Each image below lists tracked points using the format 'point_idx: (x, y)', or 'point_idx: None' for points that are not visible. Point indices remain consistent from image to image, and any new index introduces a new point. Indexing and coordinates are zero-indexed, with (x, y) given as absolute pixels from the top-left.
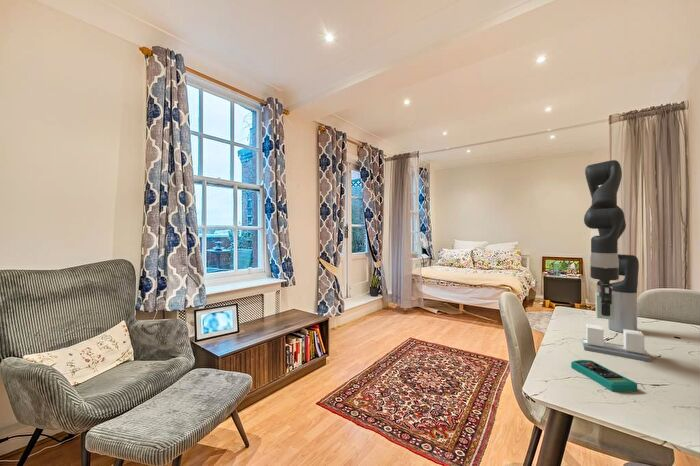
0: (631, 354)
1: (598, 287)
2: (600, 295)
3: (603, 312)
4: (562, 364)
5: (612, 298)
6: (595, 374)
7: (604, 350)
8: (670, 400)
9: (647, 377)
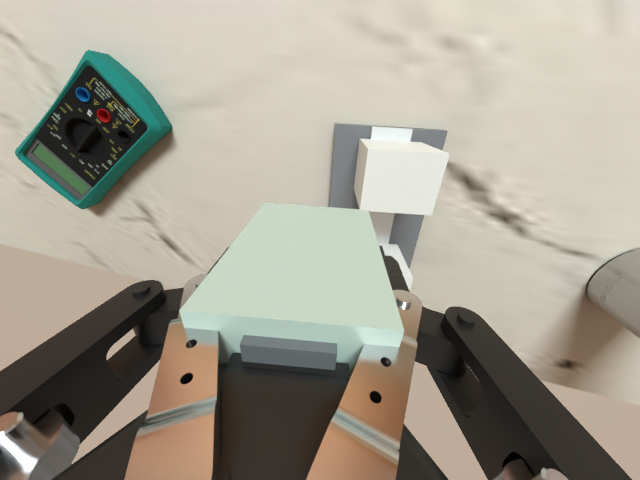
0: None
1: (135, 455)
2: (170, 337)
3: (227, 249)
4: (111, 21)
5: None
6: (41, 120)
7: (331, 184)
8: (105, 246)
9: (205, 240)
